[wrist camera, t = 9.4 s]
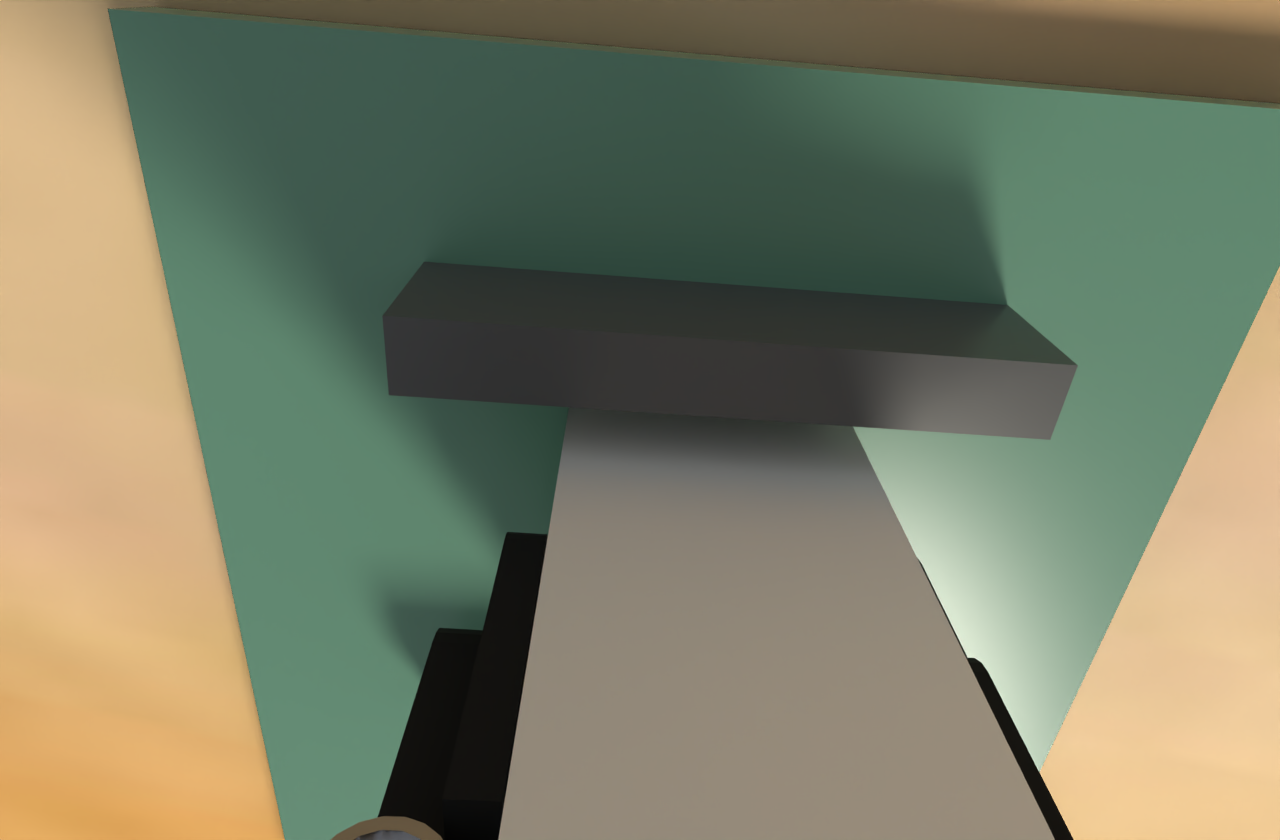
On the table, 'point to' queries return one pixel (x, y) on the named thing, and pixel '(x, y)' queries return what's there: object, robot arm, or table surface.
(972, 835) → the plug
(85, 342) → the table surface
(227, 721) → the table surface
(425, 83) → the board
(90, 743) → the table surface
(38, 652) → the table surface
